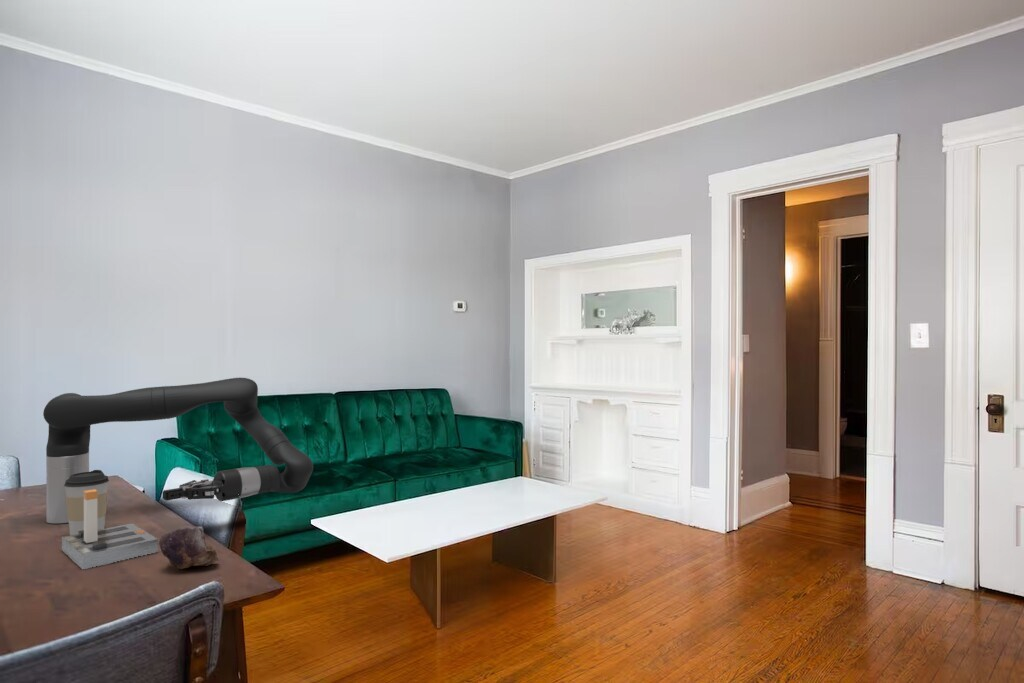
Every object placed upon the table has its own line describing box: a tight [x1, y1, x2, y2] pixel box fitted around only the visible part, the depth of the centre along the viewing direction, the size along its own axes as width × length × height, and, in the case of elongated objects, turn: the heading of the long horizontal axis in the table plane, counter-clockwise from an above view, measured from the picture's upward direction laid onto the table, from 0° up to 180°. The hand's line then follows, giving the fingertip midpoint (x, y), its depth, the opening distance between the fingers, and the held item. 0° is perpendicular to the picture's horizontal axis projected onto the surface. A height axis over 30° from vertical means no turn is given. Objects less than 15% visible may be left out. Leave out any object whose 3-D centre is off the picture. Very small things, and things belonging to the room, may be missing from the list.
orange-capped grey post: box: [83, 489, 98, 543], centre depth 135 cm, size 2×2×11 cm
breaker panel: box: [61, 522, 159, 571], centre depth 138 cm, size 18×14×4 cm
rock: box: [158, 525, 219, 570], centre depth 128 cm, size 12×9×10 cm
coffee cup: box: [64, 469, 110, 535], centre depth 151 cm, size 9×9×15 cm
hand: (163, 495), depth 146 cm, fingers closed
